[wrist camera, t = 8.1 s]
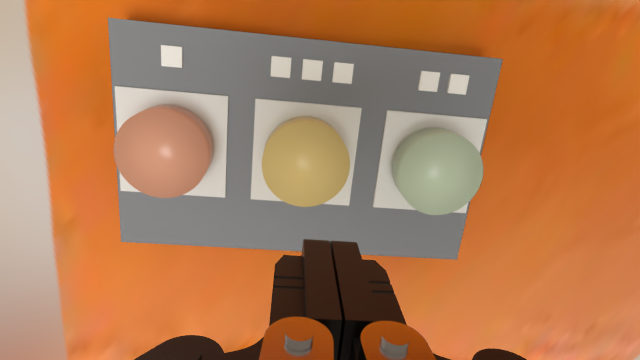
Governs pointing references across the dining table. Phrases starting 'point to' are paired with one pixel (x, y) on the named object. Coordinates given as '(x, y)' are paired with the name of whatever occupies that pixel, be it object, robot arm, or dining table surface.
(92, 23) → the dining table surface
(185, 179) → the terracotta button
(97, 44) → the dining table surface
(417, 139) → the sage button
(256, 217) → the button panel
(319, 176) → the ochre button
